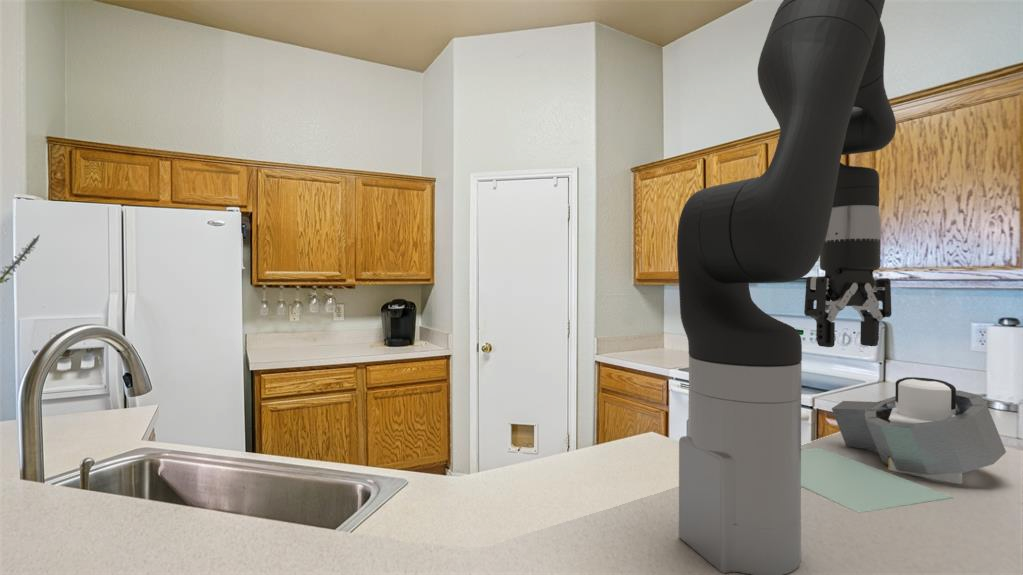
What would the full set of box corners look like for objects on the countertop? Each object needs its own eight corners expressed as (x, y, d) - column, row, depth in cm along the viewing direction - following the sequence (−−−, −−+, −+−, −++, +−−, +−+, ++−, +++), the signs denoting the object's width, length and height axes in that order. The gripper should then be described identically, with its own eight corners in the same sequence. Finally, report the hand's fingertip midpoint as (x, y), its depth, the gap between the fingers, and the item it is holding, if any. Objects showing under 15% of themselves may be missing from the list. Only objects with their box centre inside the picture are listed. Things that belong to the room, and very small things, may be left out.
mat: (858, 516, 51) (858, 512, 51) (741, 460, 67) (741, 457, 67) (953, 500, 55) (953, 496, 55) (820, 450, 71) (820, 447, 71)
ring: (974, 481, 55) (954, 431, 55) (827, 459, 71) (812, 420, 71) (1023, 436, 60) (1004, 390, 61) (875, 425, 76) (861, 389, 77)
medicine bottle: (891, 456, 69) (892, 372, 69) (960, 469, 64) (960, 379, 64) (887, 471, 63) (888, 380, 63) (962, 486, 59) (962, 387, 59)
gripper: (836, 234, 67) (834, 350, 68) (910, 238, 71) (908, 348, 71) (791, 239, 75) (789, 344, 75) (861, 242, 79) (859, 342, 79)
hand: (847, 346), depth 73 cm, fingers open, 8 cm apart
